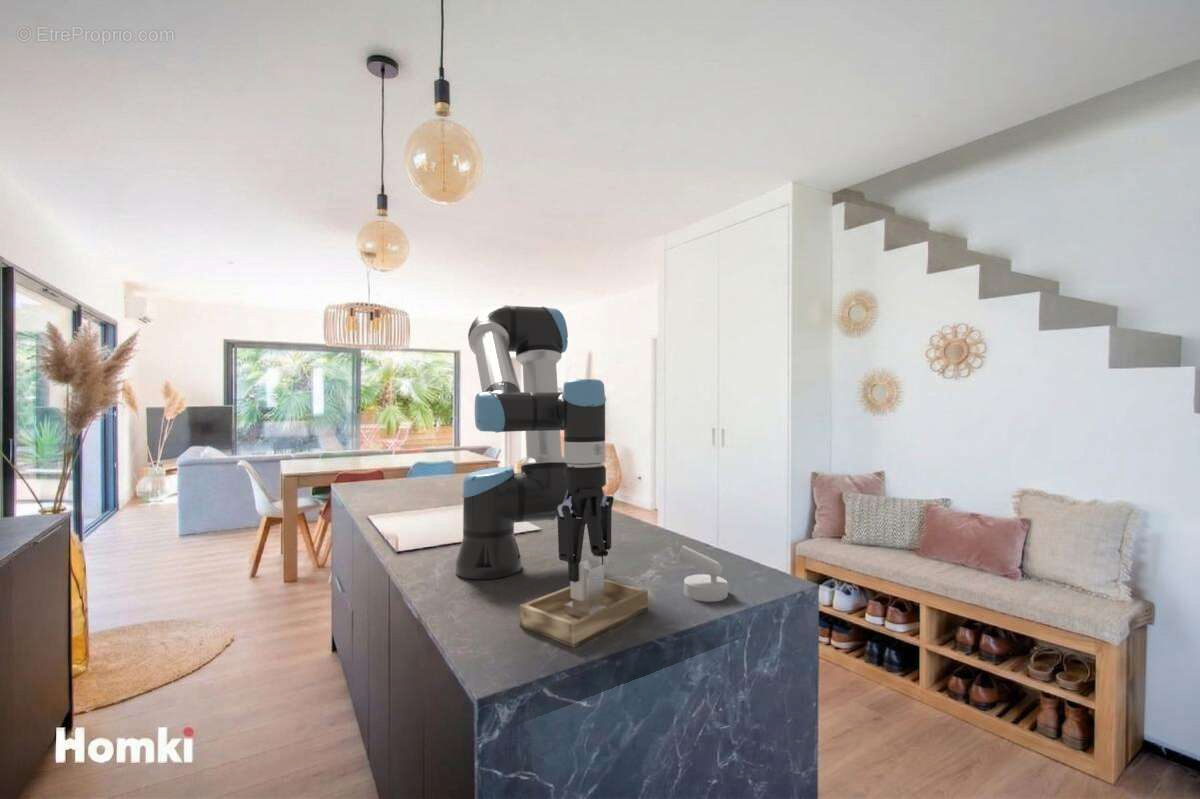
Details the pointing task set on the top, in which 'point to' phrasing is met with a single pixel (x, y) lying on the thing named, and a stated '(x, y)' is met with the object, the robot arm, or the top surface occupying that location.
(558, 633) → the wooden tray
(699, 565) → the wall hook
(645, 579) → the top surface
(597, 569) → the frosted glass pillar
